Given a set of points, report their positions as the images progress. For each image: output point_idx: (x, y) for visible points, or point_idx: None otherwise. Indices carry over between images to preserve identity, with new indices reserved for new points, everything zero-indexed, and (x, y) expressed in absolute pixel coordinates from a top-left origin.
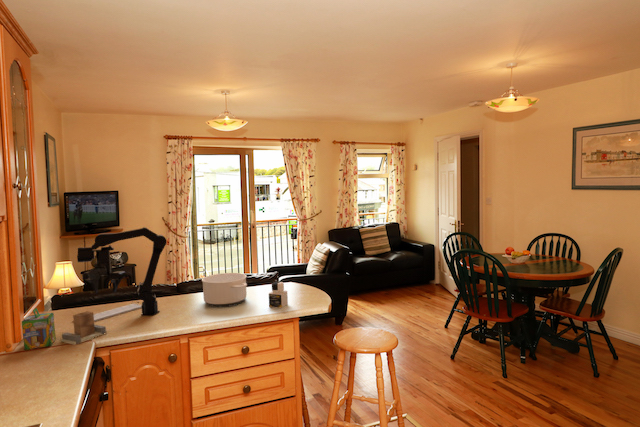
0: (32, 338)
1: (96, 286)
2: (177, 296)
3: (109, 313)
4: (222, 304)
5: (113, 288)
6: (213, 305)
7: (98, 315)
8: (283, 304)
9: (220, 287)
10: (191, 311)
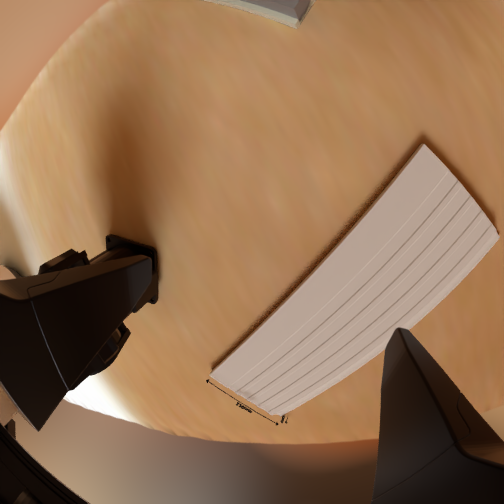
0: None
1: (400, 415)
2: (166, 425)
3: (335, 312)
4: (2, 265)
5: (93, 269)
6: (16, 274)
7: (387, 288)
8: None
9: None
10: (42, 257)
